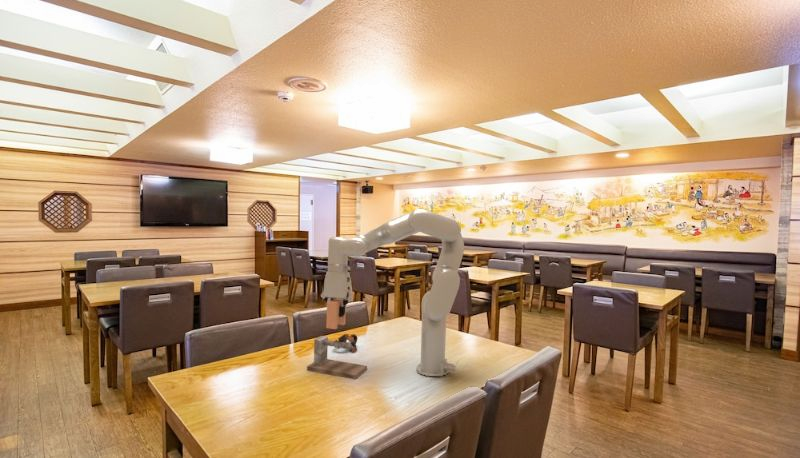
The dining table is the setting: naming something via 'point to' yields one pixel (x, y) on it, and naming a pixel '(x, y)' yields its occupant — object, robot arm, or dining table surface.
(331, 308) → the saddle clip
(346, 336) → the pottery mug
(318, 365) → the hook stand
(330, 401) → the dining table surface
